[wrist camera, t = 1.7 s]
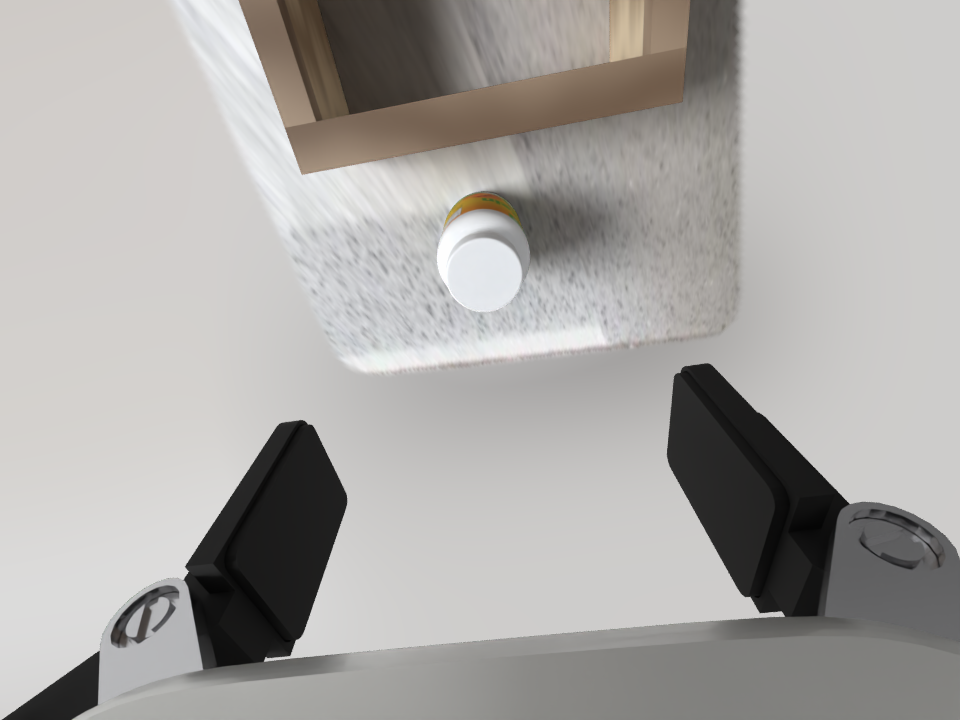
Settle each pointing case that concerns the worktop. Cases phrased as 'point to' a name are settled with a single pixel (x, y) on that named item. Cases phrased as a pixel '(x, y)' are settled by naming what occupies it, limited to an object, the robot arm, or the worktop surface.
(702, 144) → the worktop surface
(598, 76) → the wooden box
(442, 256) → the supplement bottle
